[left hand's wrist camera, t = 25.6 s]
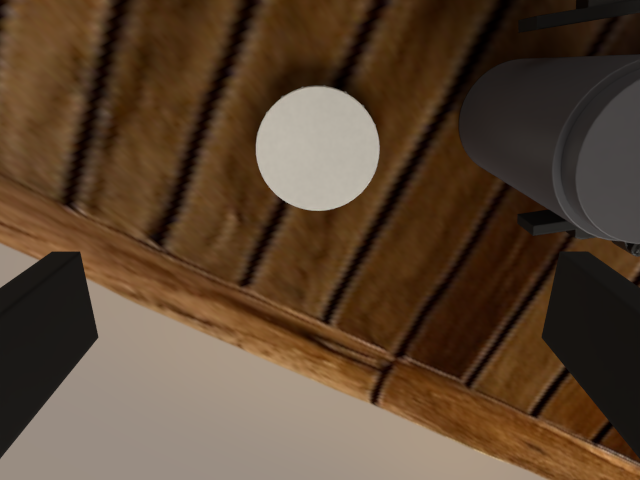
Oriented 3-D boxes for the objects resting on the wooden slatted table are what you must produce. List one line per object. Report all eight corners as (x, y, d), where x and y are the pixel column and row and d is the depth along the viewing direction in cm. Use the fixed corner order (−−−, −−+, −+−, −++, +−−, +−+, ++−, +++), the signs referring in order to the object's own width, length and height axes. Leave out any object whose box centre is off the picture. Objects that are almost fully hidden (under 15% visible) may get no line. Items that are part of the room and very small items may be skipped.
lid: (302, 58, 35) (302, 57, 34) (402, 135, 38) (405, 138, 36) (234, 160, 38) (231, 164, 37) (330, 226, 41) (331, 233, 39)
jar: (555, 176, 39) (727, 256, 23) (450, 170, 39) (546, 247, 22) (584, 62, 36) (810, 59, 19) (469, 55, 35) (598, 45, 19)
